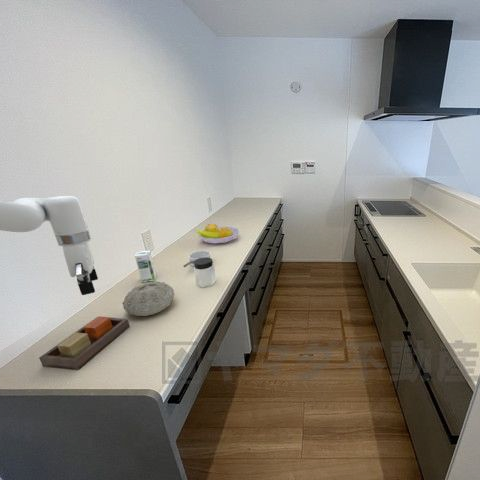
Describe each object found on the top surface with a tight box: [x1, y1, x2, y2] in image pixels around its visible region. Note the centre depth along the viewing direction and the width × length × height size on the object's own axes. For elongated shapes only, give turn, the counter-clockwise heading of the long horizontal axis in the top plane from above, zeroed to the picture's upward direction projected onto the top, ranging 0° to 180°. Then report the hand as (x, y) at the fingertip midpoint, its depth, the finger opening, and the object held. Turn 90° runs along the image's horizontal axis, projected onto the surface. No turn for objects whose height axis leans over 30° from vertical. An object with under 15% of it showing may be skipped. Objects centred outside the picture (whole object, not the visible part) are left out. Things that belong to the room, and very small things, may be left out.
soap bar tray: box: [38, 315, 131, 371], centre depth 88 cm, size 12×20×6 cm, turn 174°
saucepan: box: [182, 250, 212, 268], centre depth 143 cm, size 12×20×6 cm, turn 173°
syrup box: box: [134, 250, 157, 283], centre depth 128 cm, size 6×6×14 cm
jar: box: [193, 257, 217, 288], centre depth 126 cm, size 9×8×12 cm
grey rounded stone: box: [122, 281, 175, 317], centre depth 107 cm, size 18×18×10 cm
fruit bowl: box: [194, 223, 240, 244], centre depth 181 cm, size 28×27×11 cm
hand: (90, 286), depth 85 cm, fingers open, 9 cm apart
